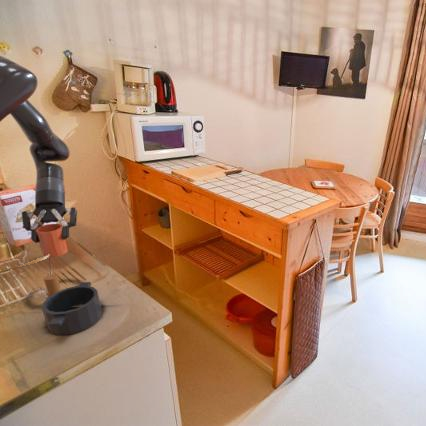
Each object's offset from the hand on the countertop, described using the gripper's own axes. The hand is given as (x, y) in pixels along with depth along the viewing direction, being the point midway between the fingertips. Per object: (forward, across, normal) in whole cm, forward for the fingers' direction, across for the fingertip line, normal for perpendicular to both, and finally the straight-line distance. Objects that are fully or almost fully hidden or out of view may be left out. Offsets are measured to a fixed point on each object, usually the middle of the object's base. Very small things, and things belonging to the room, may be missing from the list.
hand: (50, 240), depth 101 cm
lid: (+19, +2, -3) cm, 19 cm away
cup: (+3, 0, +5) cm, 6 cm away
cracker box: (-10, -12, +27) cm, 31 cm away
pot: (+28, +9, -12) cm, 32 cm away
